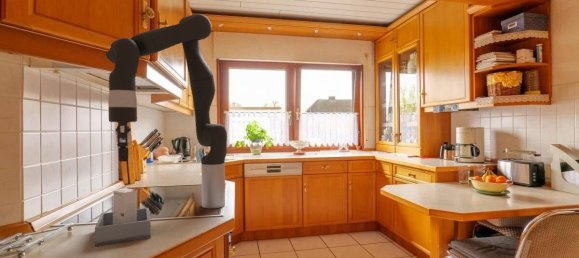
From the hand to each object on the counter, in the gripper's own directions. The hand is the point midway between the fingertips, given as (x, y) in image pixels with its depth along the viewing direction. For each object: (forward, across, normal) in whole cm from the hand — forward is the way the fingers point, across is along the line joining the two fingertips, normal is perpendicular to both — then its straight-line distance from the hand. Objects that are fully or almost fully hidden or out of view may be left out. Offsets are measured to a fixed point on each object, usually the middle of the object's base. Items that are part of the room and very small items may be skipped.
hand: (123, 159), depth 90 cm
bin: (+22, 0, 0) cm, 22 cm away
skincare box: (+21, 0, 0) cm, 21 cm away
